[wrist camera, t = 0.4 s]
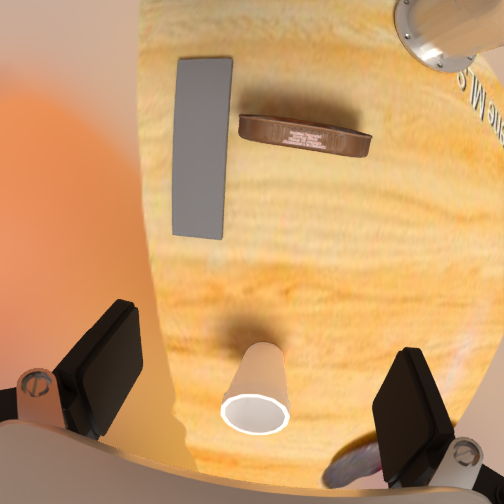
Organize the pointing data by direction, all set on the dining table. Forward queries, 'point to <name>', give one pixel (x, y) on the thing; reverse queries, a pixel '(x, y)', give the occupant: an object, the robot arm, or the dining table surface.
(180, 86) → the charcoal mat
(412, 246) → the dining table surface
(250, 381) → the foam cup
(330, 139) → the tin
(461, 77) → the dining table surface
